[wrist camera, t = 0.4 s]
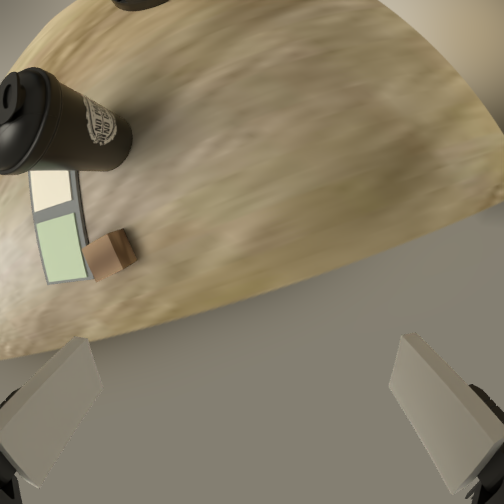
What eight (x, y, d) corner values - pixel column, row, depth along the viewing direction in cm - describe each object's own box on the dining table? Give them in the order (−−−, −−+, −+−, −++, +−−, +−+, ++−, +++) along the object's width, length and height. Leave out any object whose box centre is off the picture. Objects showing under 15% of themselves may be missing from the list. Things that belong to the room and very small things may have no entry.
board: (30, 154, 34) (25, 154, 33) (75, 133, 34) (70, 132, 33) (50, 283, 39) (46, 285, 38) (96, 277, 39) (92, 279, 37)
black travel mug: (146, 159, 35) (29, 132, 12) (89, 188, 36) (-34, 196, 13) (129, 99, 33) (27, 34, 11) (75, 130, 34) (-37, 104, 11)
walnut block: (98, 242, 38) (81, 249, 33) (123, 228, 37) (107, 233, 32) (112, 272, 38) (96, 282, 34) (137, 260, 38) (123, 269, 33)
